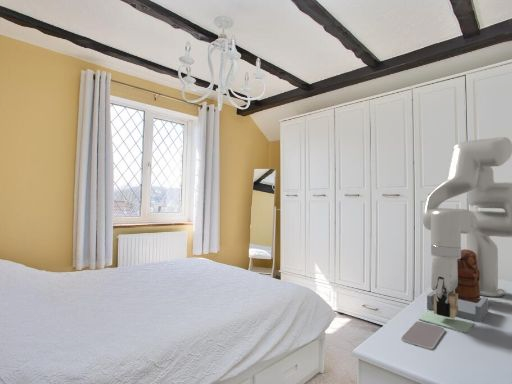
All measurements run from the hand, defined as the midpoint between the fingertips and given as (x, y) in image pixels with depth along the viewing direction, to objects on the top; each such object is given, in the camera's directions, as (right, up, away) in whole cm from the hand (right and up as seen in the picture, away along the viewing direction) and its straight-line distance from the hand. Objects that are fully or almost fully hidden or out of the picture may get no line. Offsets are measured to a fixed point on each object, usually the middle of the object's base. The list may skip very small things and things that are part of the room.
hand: (445, 312), depth 88 cm
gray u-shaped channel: (+9, -3, +9) cm, 13 cm away
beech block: (0, 0, 0) cm, 0 cm away
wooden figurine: (+20, -3, +19) cm, 28 cm away
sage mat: (0, -3, 0) cm, 3 cm away
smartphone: (-11, -3, -9) cm, 15 cm away
